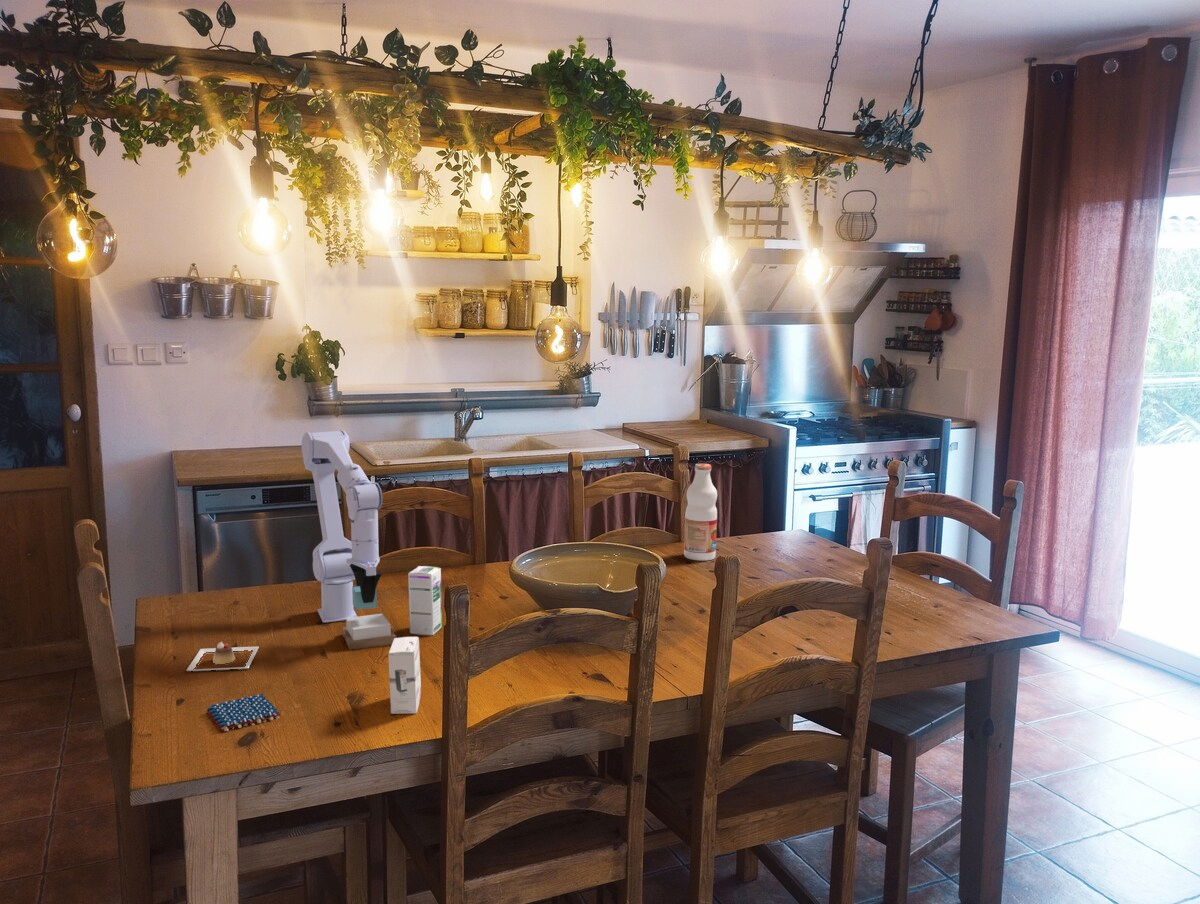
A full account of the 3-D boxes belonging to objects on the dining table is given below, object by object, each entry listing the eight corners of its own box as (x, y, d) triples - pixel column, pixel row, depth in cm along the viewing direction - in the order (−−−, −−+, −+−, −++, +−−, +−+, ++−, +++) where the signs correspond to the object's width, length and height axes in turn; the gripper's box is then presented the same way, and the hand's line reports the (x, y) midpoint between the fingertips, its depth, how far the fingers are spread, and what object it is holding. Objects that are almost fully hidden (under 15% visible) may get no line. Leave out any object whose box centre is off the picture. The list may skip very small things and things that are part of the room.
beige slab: (342, 637, 215) (342, 626, 214) (387, 632, 219) (387, 621, 218) (349, 652, 206) (349, 641, 205) (396, 646, 210) (396, 636, 209)
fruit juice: (679, 553, 289) (683, 462, 284) (709, 552, 291) (713, 461, 286) (689, 561, 280) (692, 467, 275) (719, 560, 282) (723, 467, 277)
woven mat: (283, 721, 172) (282, 710, 172) (221, 736, 166) (221, 725, 165) (264, 701, 180) (264, 691, 180) (205, 715, 174) (205, 704, 174)
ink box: (394, 695, 183) (393, 636, 181) (421, 695, 183) (420, 635, 181) (388, 715, 174) (387, 652, 172) (416, 714, 175) (416, 652, 173)
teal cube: (352, 603, 212) (352, 586, 211) (373, 601, 213) (372, 584, 213) (356, 609, 208) (355, 592, 207) (376, 607, 209) (376, 589, 209)
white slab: (346, 628, 213) (346, 618, 213) (382, 624, 217) (381, 613, 216) (353, 640, 206) (353, 629, 206) (390, 635, 210) (390, 624, 209)
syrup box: (433, 636, 215) (432, 573, 213) (408, 633, 216) (407, 571, 214) (442, 627, 220) (442, 566, 218) (418, 625, 222) (417, 565, 219)
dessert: (259, 651, 205) (258, 629, 204) (248, 672, 194) (247, 650, 193) (200, 653, 203) (199, 632, 202) (186, 675, 192) (185, 653, 191)
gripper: (341, 532, 213) (342, 591, 215) (351, 548, 200) (353, 610, 202) (372, 530, 216) (374, 588, 218) (385, 545, 203) (386, 607, 205)
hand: (366, 598), depth 210 cm, fingers closed on teal cube, 4 cm apart
